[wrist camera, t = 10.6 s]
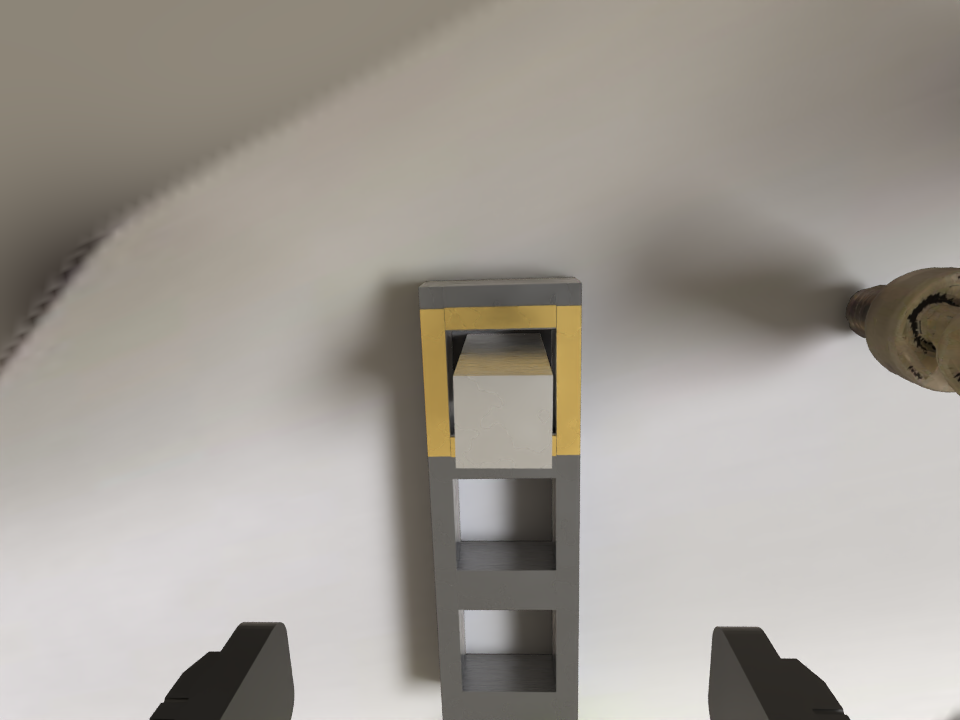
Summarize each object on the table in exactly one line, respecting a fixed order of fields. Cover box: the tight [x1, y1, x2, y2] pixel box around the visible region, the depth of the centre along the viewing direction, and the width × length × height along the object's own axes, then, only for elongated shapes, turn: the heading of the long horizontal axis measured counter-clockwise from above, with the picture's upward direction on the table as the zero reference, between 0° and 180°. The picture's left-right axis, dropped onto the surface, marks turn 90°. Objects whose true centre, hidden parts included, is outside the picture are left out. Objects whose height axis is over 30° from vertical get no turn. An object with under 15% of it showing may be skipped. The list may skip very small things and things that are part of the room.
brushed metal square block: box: [453, 333, 553, 469], centre depth 28 cm, size 4×4×9 cm
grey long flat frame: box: [418, 277, 582, 720], centre depth 32 cm, size 8×26×3 cm, turn 2°
